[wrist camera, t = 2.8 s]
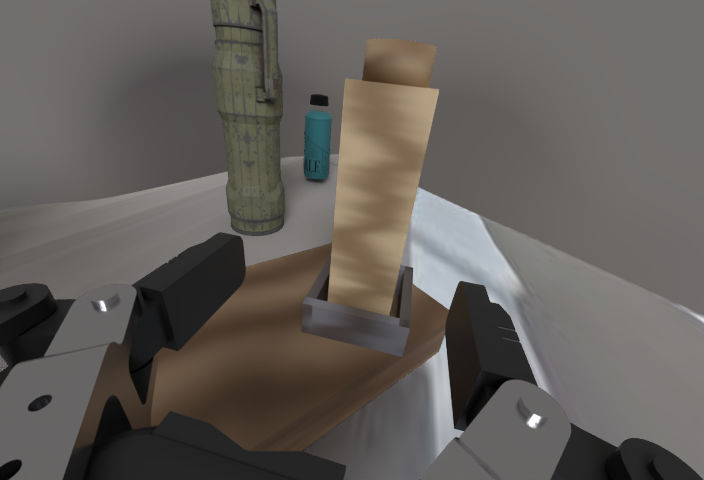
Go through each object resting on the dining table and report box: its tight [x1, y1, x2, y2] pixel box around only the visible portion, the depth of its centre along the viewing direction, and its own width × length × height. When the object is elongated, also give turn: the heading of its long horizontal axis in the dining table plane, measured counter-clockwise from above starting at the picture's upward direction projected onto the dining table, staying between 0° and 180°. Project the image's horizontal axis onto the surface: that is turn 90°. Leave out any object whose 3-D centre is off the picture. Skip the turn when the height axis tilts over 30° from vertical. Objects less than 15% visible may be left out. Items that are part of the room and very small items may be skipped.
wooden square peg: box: [328, 39, 439, 316], centre depth 21 cm, size 5×5×20 cm
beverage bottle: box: [304, 94, 332, 179], centre depth 68 cm, size 6×7×20 cm
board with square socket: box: [151, 243, 449, 452], centre depth 25 cm, size 17×25×8 cm
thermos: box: [211, 0, 284, 236], centre depth 41 cm, size 9×12×35 cm
